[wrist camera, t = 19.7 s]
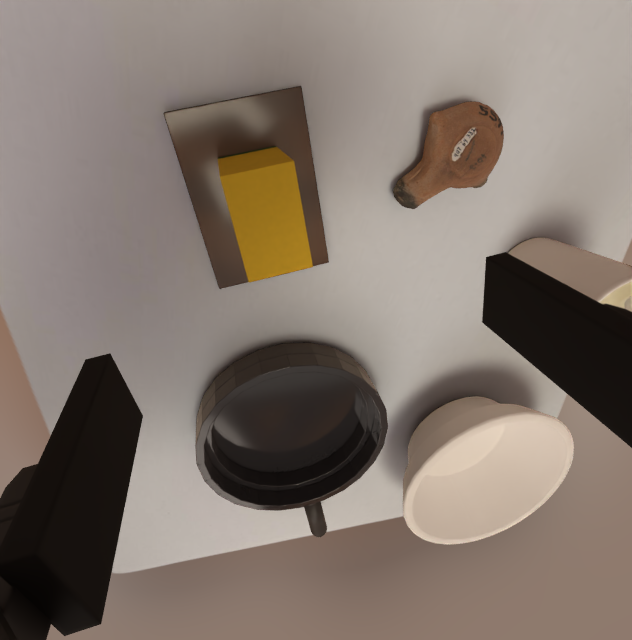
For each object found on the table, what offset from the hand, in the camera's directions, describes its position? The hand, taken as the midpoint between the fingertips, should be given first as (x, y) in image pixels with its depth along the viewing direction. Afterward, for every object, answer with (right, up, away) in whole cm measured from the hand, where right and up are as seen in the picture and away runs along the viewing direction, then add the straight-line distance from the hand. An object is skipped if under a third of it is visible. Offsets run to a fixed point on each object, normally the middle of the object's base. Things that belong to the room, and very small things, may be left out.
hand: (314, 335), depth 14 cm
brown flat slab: (-5, +11, +19) cm, 22 cm away
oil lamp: (+11, +15, +21) cm, 28 cm away
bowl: (+18, -14, +39) cm, 45 cm away
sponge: (-5, +10, +18) cm, 22 cm away
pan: (-3, -10, +31) cm, 33 cm away
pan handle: (0, -22, +36) cm, 42 cm away
